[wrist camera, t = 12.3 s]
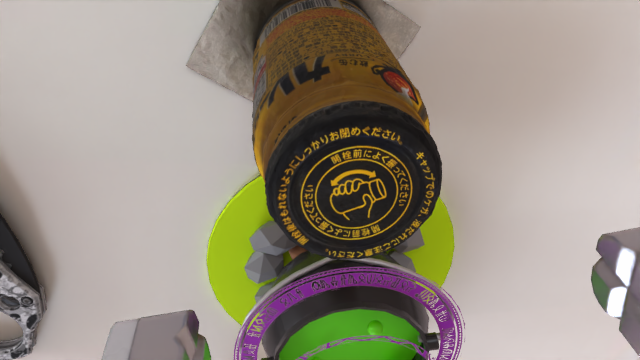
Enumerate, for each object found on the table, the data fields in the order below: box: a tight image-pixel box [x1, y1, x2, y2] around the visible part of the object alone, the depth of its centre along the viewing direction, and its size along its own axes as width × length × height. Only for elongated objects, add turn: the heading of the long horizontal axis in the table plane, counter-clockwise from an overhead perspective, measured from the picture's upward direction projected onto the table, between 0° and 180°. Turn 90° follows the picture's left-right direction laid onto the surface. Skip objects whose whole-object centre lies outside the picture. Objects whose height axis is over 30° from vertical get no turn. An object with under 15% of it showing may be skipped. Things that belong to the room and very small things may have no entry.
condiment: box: [186, 0, 442, 259], centre depth 20 cm, size 7×8×12 cm
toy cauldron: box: [207, 176, 465, 360], centre depth 27 cm, size 15×15×11 cm
